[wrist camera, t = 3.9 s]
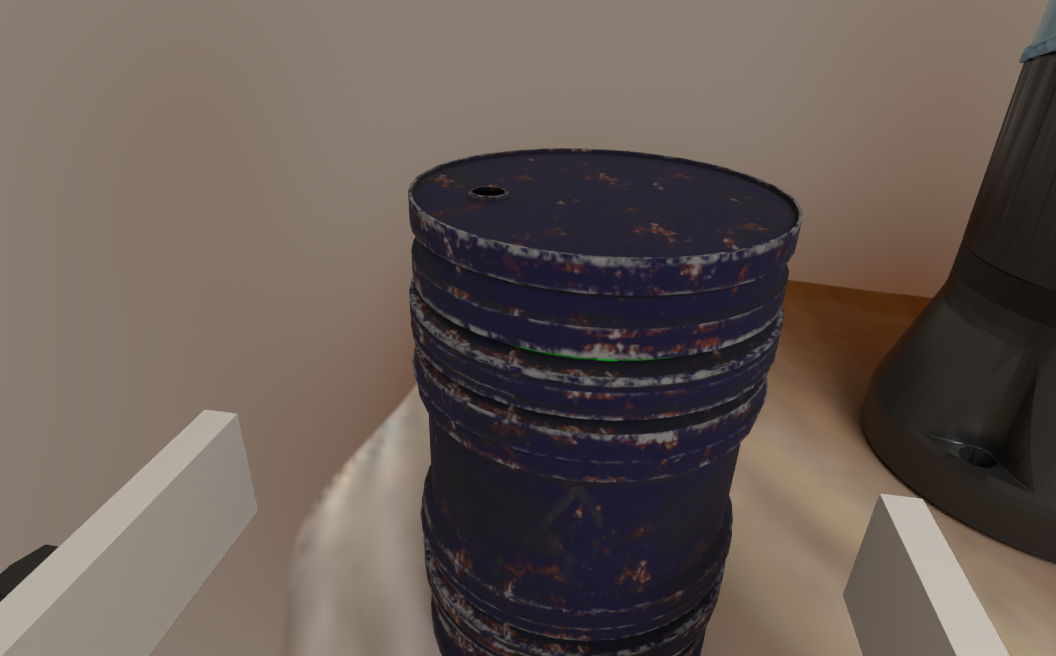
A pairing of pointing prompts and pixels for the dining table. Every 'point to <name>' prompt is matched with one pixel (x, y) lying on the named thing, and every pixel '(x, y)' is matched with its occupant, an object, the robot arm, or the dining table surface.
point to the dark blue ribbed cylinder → (588, 391)
